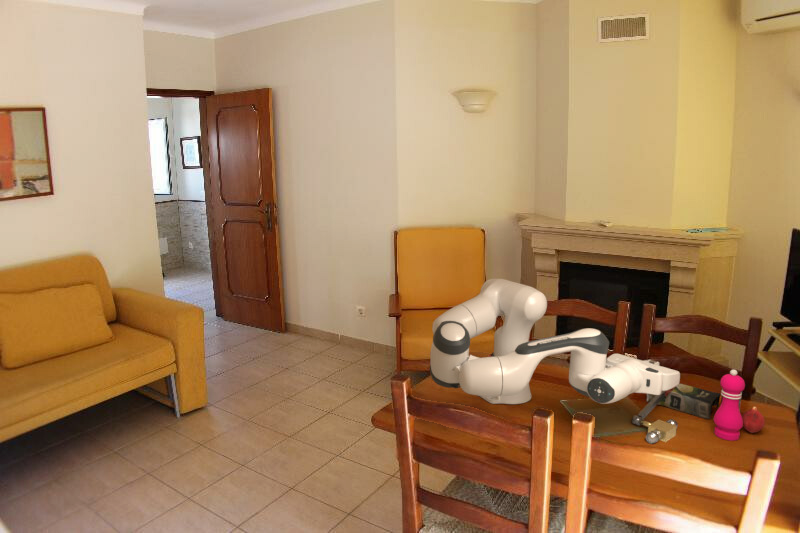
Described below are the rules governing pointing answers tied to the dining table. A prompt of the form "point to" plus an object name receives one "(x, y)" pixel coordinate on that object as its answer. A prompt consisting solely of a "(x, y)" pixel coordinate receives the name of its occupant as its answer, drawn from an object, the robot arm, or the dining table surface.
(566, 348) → the robot arm
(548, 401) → the dining table surface
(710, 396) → the juice carton
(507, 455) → the dining table surface
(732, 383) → the pepper mill
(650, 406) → the valve lever
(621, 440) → the dining table surface
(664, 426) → the valve body
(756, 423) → the onion
